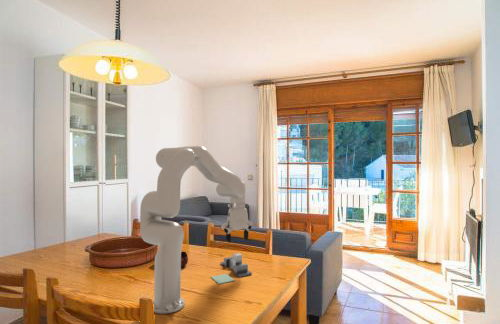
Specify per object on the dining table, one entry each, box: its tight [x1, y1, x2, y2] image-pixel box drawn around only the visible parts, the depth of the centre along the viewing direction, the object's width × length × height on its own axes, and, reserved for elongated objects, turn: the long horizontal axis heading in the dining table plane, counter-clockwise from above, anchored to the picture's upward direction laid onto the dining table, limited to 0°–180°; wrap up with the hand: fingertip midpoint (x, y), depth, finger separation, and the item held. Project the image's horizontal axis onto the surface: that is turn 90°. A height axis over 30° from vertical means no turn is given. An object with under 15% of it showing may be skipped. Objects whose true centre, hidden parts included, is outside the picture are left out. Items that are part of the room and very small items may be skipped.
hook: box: [228, 252, 243, 272], centre depth 153 cm, size 8×4×8 cm, turn 30°
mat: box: [210, 273, 236, 285], centre depth 140 cm, size 9×8×1 cm
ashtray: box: [153, 251, 189, 268], centre depth 160 cm, size 18×16×5 cm
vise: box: [220, 256, 253, 278], centre depth 153 cm, size 21×7×4 cm, turn 29°
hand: (237, 240), depth 152 cm, fingers open, 9 cm apart
